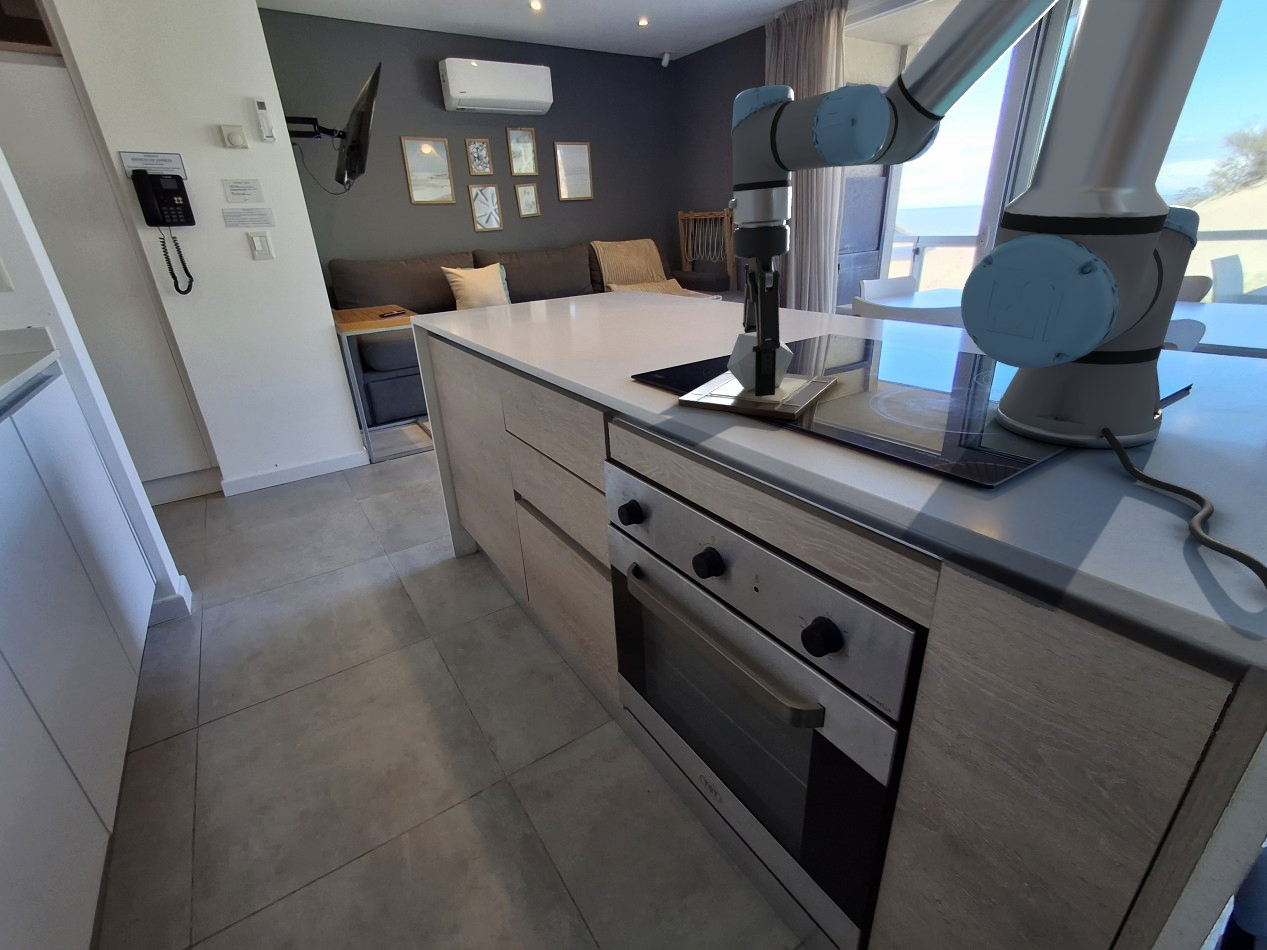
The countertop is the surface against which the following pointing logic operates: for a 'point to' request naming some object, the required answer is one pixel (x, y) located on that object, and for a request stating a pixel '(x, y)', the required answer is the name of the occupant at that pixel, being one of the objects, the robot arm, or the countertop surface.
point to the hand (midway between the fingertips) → (759, 384)
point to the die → (745, 361)
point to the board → (784, 404)
